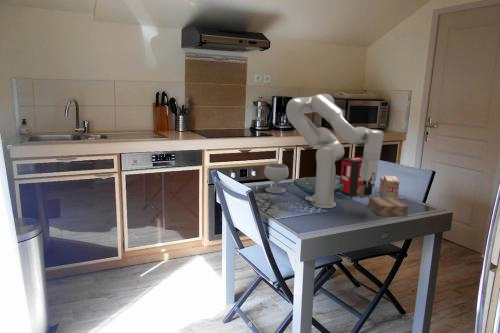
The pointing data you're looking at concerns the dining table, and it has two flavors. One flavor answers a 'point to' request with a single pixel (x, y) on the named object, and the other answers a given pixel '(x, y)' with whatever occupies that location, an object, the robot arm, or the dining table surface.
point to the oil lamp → (362, 191)
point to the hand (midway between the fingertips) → (365, 193)
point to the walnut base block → (387, 206)
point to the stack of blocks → (389, 186)
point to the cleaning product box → (351, 175)
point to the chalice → (276, 176)
